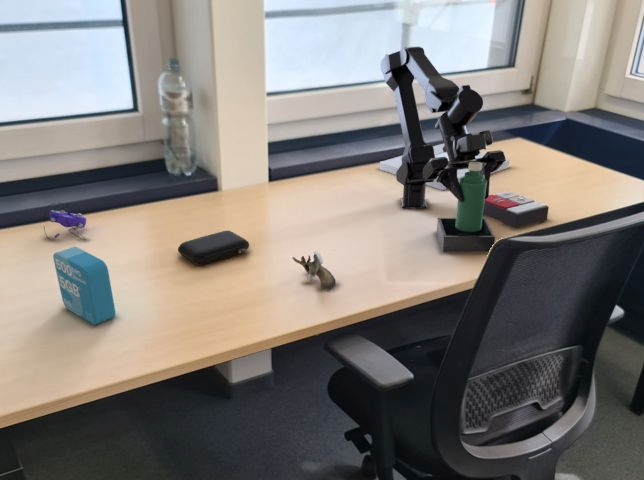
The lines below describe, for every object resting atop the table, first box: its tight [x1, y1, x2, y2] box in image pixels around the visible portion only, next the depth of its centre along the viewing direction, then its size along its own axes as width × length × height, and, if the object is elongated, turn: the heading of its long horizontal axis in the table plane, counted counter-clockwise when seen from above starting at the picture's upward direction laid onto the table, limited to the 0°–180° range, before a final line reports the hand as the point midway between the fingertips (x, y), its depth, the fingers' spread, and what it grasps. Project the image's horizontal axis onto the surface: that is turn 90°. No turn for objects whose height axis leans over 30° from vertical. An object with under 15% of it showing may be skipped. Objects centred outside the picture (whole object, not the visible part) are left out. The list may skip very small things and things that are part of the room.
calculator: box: [483, 190, 550, 229], centre depth 190 cm, size 11×4×15 cm
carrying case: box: [177, 230, 250, 266], centre depth 170 cm, size 11×3×15 cm
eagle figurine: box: [291, 251, 337, 291], centre depth 157 cm, size 8×7×9 cm
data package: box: [52, 246, 117, 326], centre depth 143 cm, size 12×4×12 cm, turn 47°
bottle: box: [455, 162, 487, 232], centre depth 169 cm, size 6×6×15 cm
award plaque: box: [379, 142, 510, 191], centre depth 222 cm, size 25×30×2 cm
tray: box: [436, 217, 496, 253], centre depth 176 cm, size 12×12×4 cm
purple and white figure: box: [43, 202, 87, 241], centre depth 179 cm, size 10×8×10 cm
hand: (474, 199), depth 169 cm, fingers closed on bottle, 6 cm apart
